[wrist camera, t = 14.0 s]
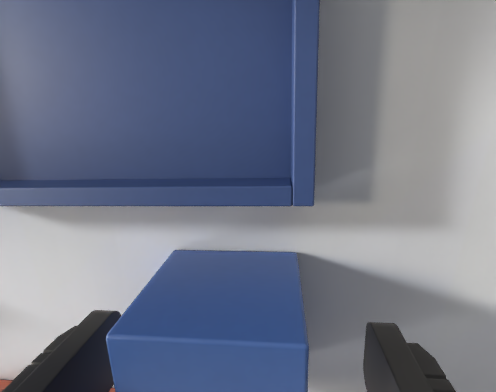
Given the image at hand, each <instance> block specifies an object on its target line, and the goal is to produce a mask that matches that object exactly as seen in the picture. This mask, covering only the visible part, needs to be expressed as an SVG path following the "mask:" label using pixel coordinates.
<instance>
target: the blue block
mask: <svg viewBox="0 0 496 392" xmlns="http://www.w3.org/2000/svg"><path fill="white" fill-rule="evenodd" d="M106 342H107V348H108V354H109V359H110V365H111V370H112V376H113V381H114V387H115V392H308V358H309V345H308V337H307V329H306V321H305V313H304V305H303V297H302V289H301V281H300V273H299V265H298V257H297V253H295V252H251V251H196V250H175V251H173V252H172V254H171V255H170V256H169V257H168V259H167V260H166V261H165V262H164V264H163V265H162V266H161V267H160V269H159V270H158V271H157V272H156V274H155V275H154V276H153V277H152V279H151V280H150V281H149V282H148V284H147V285H146V286H145V287H144V289H143V290H142V291H141V292H140V294H139V295H138V296H137V297H136V299H135V300H134V301H133V302H132V304H131V305H130V306H129V307H128V308H127V310H126V311H125V312H124V313H123V315H122V316H121V317H120V318H119V320H118V321H117V322H116V323H115V325H114V326H113V327H112V328H111V330H110V331H109V332H108V333H107V336H106Z"/></svg>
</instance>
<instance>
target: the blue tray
mask: <svg viewBox="0 0 496 392" xmlns="http://www.w3.org/2000/svg"><path fill="white" fill-rule="evenodd" d="M319 7H320V0H0V206H292V205H293V206H313V205H314V190H315V154H316V117H317V80H318V44H319Z"/></svg>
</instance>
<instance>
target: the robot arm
mask: <svg viewBox="0 0 496 392" xmlns="http://www.w3.org/2000/svg"><path fill="white" fill-rule="evenodd" d="M120 317H121V315H120V313H119V312H118V311H103V310H95V311H92V312H91V313H90V314H89V315H88V316H87V317H86V318H85V319H84V320H83V321H82V322H81V323H80V324H79V325H78V326H74V327H73V328H71V329H70V330H68V331H66V332H65V333H63V334H62V335H60V336H58V337H57V338H56V339H55V340H54V341H53V342H52V343H51V344H50V345H49V346H48V347H47V348H46V349H45V350H44V352H43V353H41V354H40V355H39V356H38V357H37V358H36V359H34V360H33V361H32V364H31V365H28V366H27V367H26V368H25V369H24V370H23V371H22V372H21V373H20V374H19V375H18V376H17V377H16V378H15V379H14V380H13V381H12V382H11V383H10V384H9V385H8V386H7V387H6V388H5V389H4V390H3V391H1V392H109V391H110V389H111V387H112V386H113V384H114V381H113V376H112V370H111V365H110V359H109V354H108V348H107V342H106V336H107V333H108V332H109V331H110V330H111V328H112V327H113V326H114V325H115V323H116V322H117V321H118V320H119V318H120ZM363 370H364V379H365V385H366V389H367V392H456V391H455V390H454V388H453V386H452V385H451V383H450V382H449V380H447V379H446V375H445V374H444V372H443V371H442V369H441V368H440V366H439V364H438V363H437V361H436V360H435V358H434V357H432V356H431V355H430V354H429V353H428V352H427V351H426V350H424V349H423V348H422V347H421V346H420V345H419V344H417V343H406V341H405V339H404V337H403V335H402V334H401V332H400V330H399V328H398V327H397V325H396V324H394V323H373V322H368V323H367V326H366V336H365V349H364V363H363Z"/></svg>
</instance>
